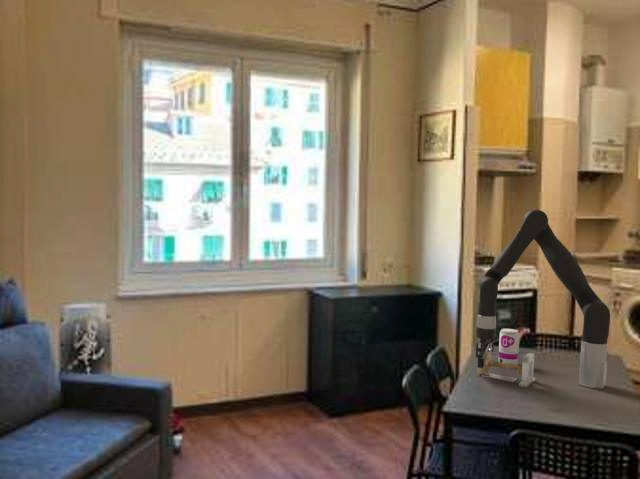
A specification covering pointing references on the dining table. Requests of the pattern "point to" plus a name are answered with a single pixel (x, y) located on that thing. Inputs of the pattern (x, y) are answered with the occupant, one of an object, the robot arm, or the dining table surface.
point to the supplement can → (509, 346)
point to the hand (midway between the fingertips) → (484, 365)
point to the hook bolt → (496, 365)
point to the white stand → (526, 372)
